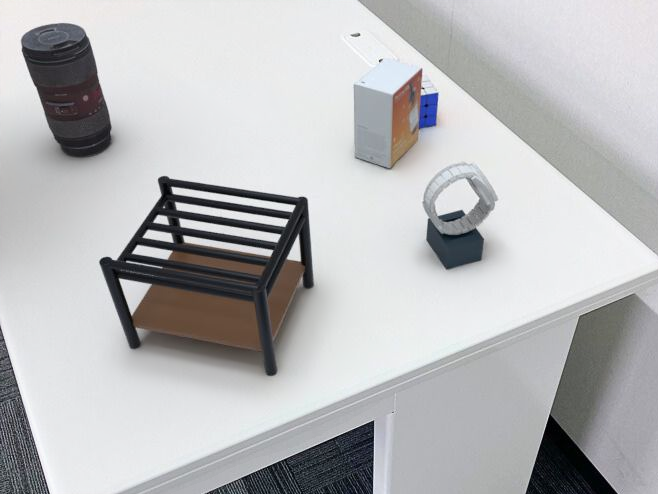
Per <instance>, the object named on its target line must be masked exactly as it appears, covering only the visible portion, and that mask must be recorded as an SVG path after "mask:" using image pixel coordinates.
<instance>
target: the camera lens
mask: <svg viewBox="0 0 658 494" xmlns="http://www.w3.org/2000/svg"><path fill="white" fill-rule="evenodd" d="M20 44H21V53H22V56H23V58H24V61H25V64H26V67H27V68H26V69H27V71H28V73H29V76H30V79H31V81H32V83H33V86H34V87H35V88H36V91H37V94H38V98H39V100H40V103H41V106H42V110H43V113H44V116H45V120H46V122H47V125H48V128H49V130H50V131H51V134H52V135H53V138H54V140H55V141H56V143H58V144H59V145H60V148H61V150H62V151H63V152H64V154H66V155H68V156H71V157H75V158H76V157H77V158H87V157H91V156H92V157H93V156H94V155H97V154H100V153H101V152H103V151H105V150H106V149H107V148H108V147H109V146H110V145H111V143H112V134H111V132H112V128H113V127H112V123H111V122H112V121H111V117H110V116H111V115H110V113H109V112H110V111H109V108H108V105H107V102H106V99H105V96H104V92H103V89H102V86H101V82H100V78H99V75H98V74H99V73H98V66H97V62H96V58H95V55H94V54H95V53H94V50H93V47H92V43H91V41H90V38H89V36H87V32H86V30H85V29H84V28H83V27H82V26H80V25H78V24H74V23H69V22H58V23H57V22H56V23H49V24H44V25H40V26H37V27H34V28H32V29H30V30H29V31H27V32H25V33H24V34H23V35H22V36H21V39H20Z"/></svg>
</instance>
